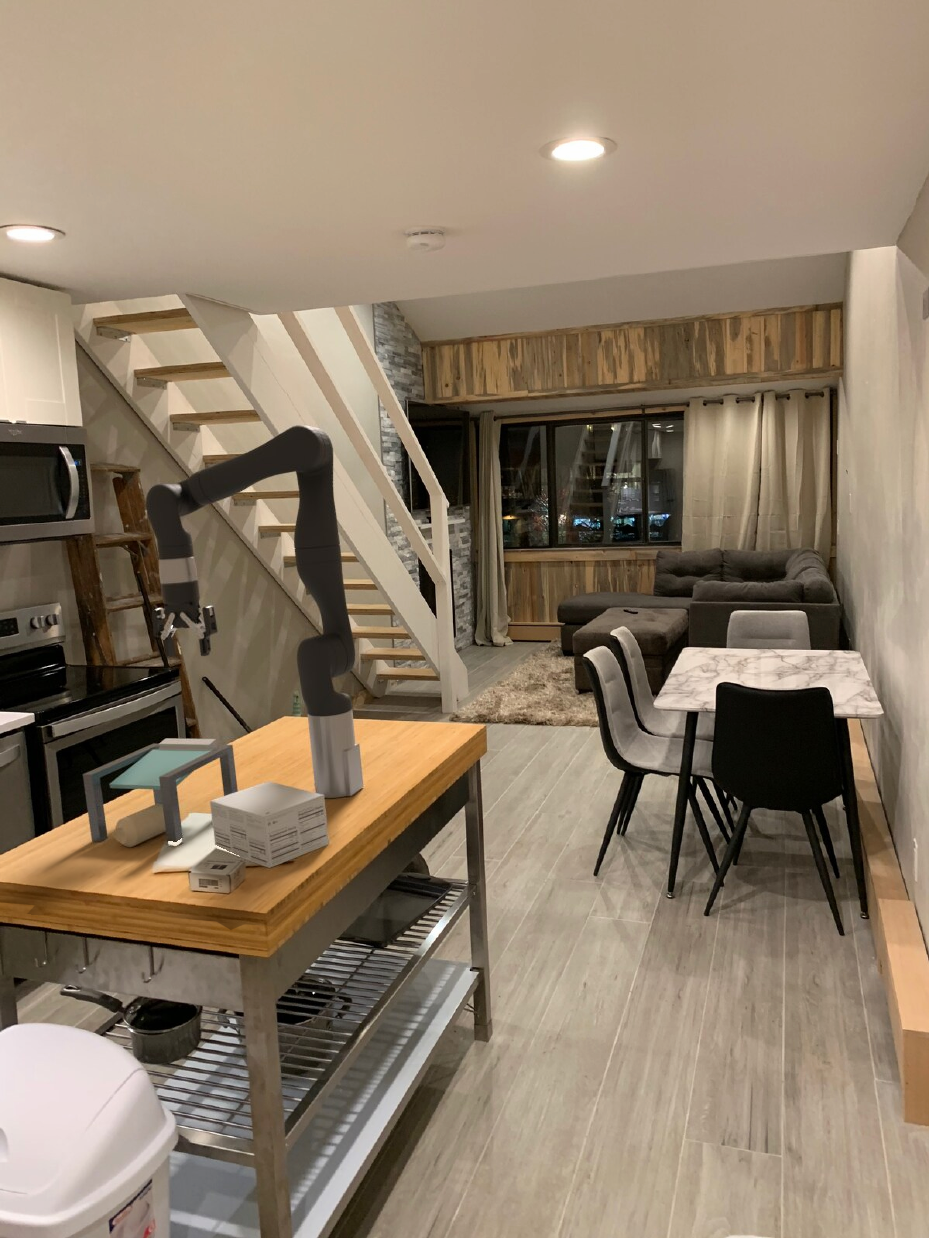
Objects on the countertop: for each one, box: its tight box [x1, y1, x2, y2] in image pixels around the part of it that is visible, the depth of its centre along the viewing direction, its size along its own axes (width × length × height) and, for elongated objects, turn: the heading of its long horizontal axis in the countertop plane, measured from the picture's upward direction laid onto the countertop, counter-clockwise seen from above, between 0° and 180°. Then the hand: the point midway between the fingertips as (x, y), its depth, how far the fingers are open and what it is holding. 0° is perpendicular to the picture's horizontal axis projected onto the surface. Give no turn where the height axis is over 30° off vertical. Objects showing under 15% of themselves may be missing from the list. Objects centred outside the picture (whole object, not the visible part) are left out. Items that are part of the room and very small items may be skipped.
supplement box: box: [209, 781, 330, 869], centre depth 165 cm, size 17×13×9 cm
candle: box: [113, 803, 166, 848], centre depth 173 cm, size 6×6×10 cm
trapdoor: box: [109, 737, 219, 790], centre depth 182 cm, size 17×14×2 cm
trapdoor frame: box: [82, 742, 239, 843], centre depth 181 cm, size 21×19×13 cm
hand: (188, 656), depth 196 cm, fingers open, 8 cm apart
